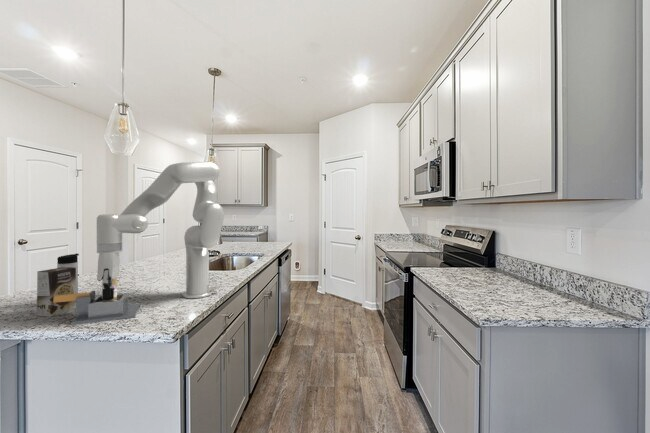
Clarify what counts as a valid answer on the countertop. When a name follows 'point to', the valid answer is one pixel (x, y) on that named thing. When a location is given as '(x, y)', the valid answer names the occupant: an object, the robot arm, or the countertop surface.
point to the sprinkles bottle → (114, 289)
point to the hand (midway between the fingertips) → (110, 297)
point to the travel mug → (69, 264)
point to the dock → (104, 309)
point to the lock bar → (73, 296)
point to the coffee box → (55, 290)
